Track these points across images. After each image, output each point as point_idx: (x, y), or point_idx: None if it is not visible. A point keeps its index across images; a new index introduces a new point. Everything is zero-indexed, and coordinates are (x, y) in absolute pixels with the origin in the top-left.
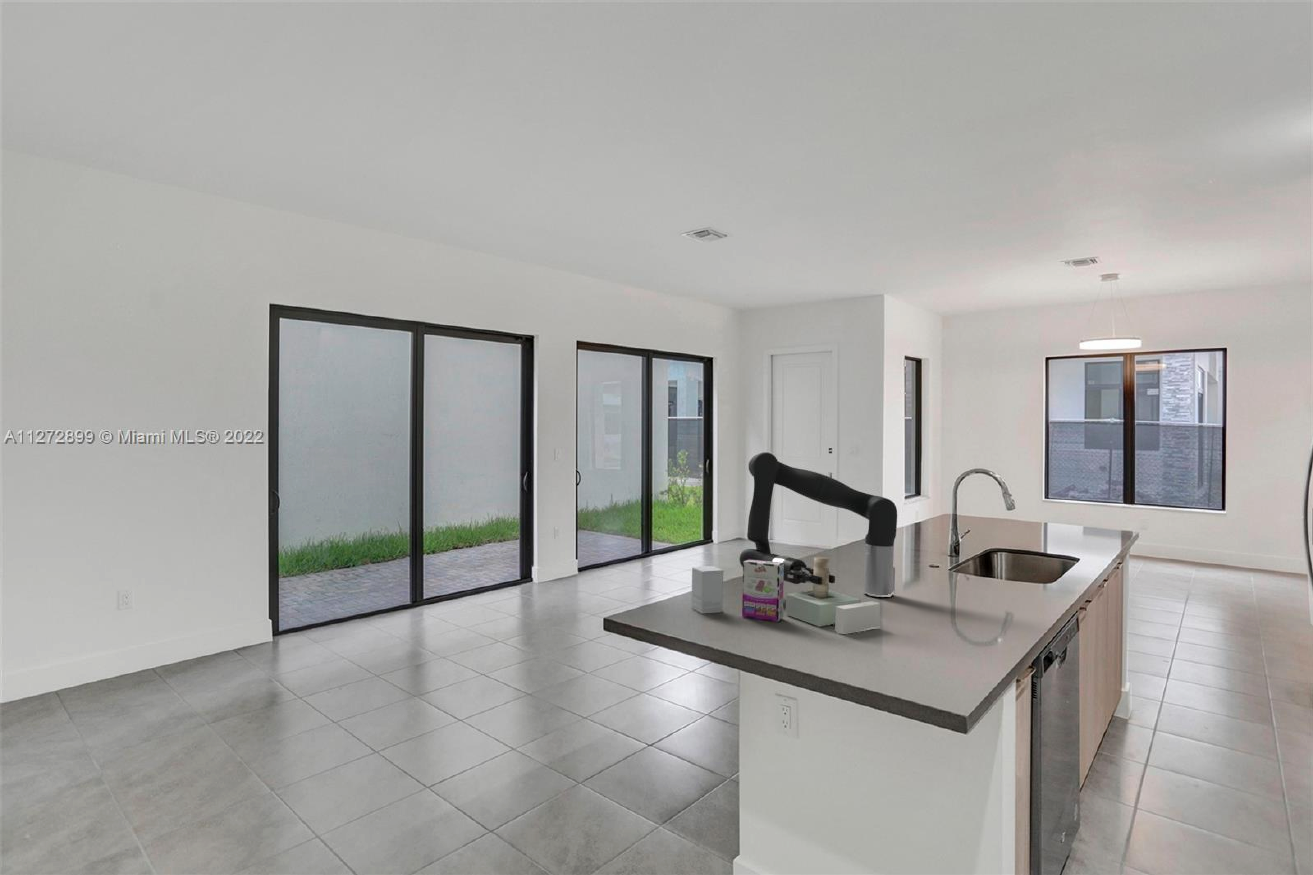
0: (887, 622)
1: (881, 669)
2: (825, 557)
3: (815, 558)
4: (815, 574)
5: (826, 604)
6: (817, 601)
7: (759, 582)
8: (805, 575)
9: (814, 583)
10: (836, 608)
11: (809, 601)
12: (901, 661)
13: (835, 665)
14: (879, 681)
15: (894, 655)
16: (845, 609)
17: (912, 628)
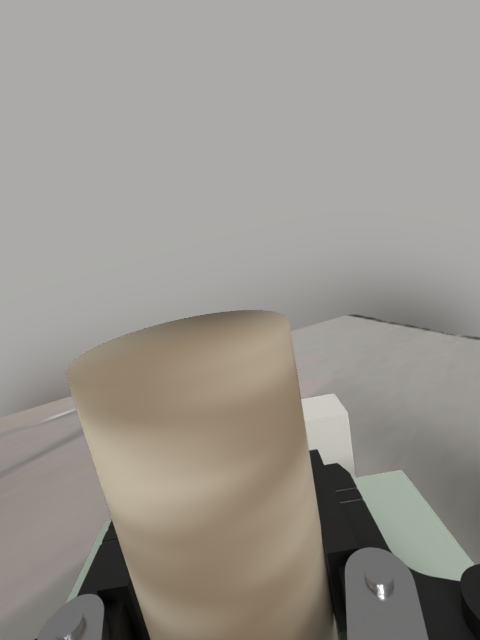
0: (70, 554)
1: (367, 354)
2: (73, 363)
3: (278, 326)
4: (317, 507)
5: (355, 478)
6: (389, 533)
7: None
8: (471, 574)
9: (333, 615)
10: (347, 416)
11: (455, 547)
12: (313, 369)
13: (447, 361)
14: (392, 338)
15: (305, 381)
16: (326, 396)
17: (92, 484)
